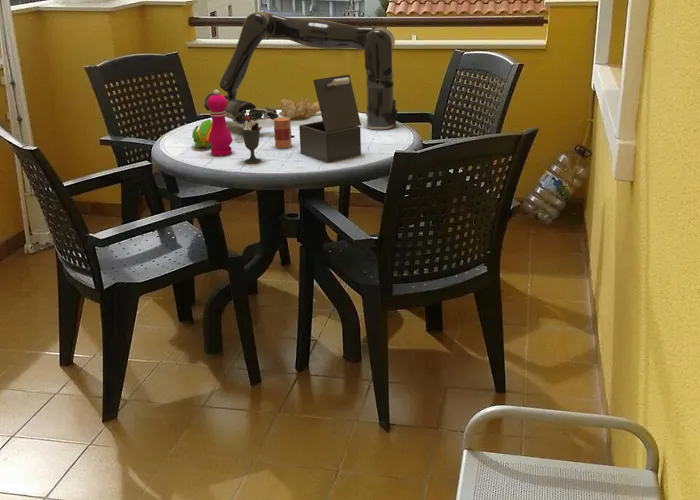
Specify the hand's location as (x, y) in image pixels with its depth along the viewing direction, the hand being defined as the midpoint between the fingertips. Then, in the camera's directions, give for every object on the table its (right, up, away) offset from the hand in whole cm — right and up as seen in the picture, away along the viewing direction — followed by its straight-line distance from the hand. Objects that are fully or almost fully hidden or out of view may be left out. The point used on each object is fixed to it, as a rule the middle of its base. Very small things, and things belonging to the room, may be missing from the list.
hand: (265, 119), depth 265 cm
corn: (-20, -8, +2) cm, 21 cm away
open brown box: (+21, -13, -15) cm, 29 cm away
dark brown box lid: (+24, +1, -24) cm, 34 cm away
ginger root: (+8, +6, +35) cm, 37 cm away
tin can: (+6, -10, -5) cm, 12 cm away
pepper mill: (-13, -13, -11) cm, 21 cm away
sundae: (-2, -16, -20) cm, 26 cm away
